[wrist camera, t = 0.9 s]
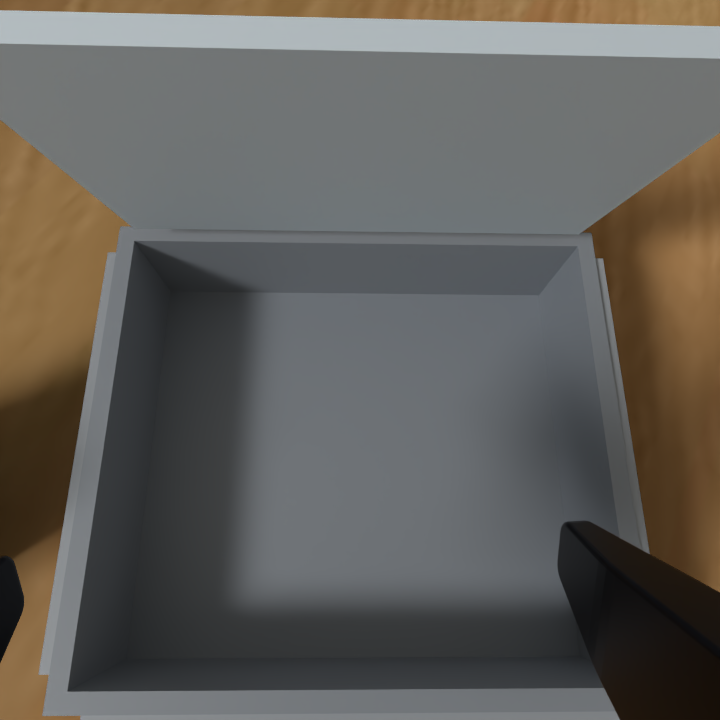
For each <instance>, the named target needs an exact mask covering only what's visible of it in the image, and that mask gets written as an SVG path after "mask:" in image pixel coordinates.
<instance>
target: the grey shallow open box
mask: <svg viewBox="0 0 720 720" xmlns="http://www.w3.org/2000/svg"><path fill="white" fill-rule="evenodd" d="M581 520H587V521H590V522H592V523H594V524H595V525H597V526H599V527H601V528H603V529H605V530H606V531H608V532H610V533H612V534H614V535H616V536H617V537H619V538H621V539H623V540H625V541H627V542H628V543H630V544H632V545H634V546H636V547H638V548H639V549H641V550H643V551H645V552H647V553H649V554H650V552H649V546H648V540H647V533H646V527H645V521H644V515H643V508H642V502H641V496H640V489H639V483H638V477H637V470H636V464H635V458H634V451H633V445H632V439H631V433H630V426H629V420H628V414H627V407H626V401H625V395H624V388H623V382H622V376H621V369H620V363H619V357H618V351H617V344H616V338H615V332H614V325H613V319H612V313H611V306H610V300H609V294H608V287H607V281H606V275H605V269H604V262H603V259H602V258H595V253H594V247H593V240H592V234H591V233H580V234H505V233H428V232H352V231H275V230H199V229H134V228H133V227H120V232H119V238H118V244H117V251H116V253H108V256H107V262H106V268H105V274H104V280H103V286H102V292H101V298H100V304H99V310H98V316H97V322H96V329H95V335H94V341H93V347H92V353H91V359H90V365H89V371H88V377H87V383H86V389H85V395H84V401H83V408H82V414H81V420H80V426H79V432H78V438H77V444H76V450H75V456H74V462H73V468H72V474H71V480H70V486H69V493H68V499H67V505H66V511H65V517H64V523H63V529H62V535H61V541H60V547H59V553H58V559H57V565H56V571H55V578H54V584H53V590H52V596H51V602H50V608H49V614H48V620H47V626H46V632H45V638H44V644H43V650H42V656H41V663H40V669H39V675H49V678H48V684H47V690H46V696H45V703H44V709H43V715H42V716H81V718H80V720H620V719H619V717H618V715H617V713H616V711H615V709H614V707H613V705H612V703H611V701H610V699H609V697H608V695H607V693H606V691H605V689H604V687H603V685H602V683H601V681H600V679H599V677H598V675H597V673H596V670H595V668H594V666H593V664H592V661H591V659H590V657H589V654H588V652H587V649H586V646H585V644H584V641H583V638H582V636H581V633H580V631H579V628H578V625H577V623H576V620H575V617H574V615H573V612H572V609H571V607H570V604H569V601H568V599H567V596H566V594H565V591H564V588H563V586H562V583H561V580H560V577H559V574H558V568H557V559H558V549H559V539H560V530H561V526H562V524H563V523H565V522H567V521H581Z"/></svg>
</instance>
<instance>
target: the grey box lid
mask: <svg viewBox="0 0 720 720" xmlns="http://www.w3.org/2000/svg"><path fill="white" fill-rule="evenodd" d="M0 120H1V121H3V122H4V123H5V124H6V125H8V126H9V127H10V128H11V129H12V130H14V131H15V132H16V133H17V134H19V135H20V136H21V137H22V138H24V139H25V140H26V141H27V142H28V143H30V144H31V145H32V146H33V147H35V148H36V149H37V150H38V151H40V152H41V153H42V154H43V155H44V156H46V157H47V158H48V159H49V160H51V161H52V162H53V163H54V164H56V165H57V166H58V167H59V168H60V169H62V170H63V171H64V172H65V173H67V174H68V175H69V176H70V177H72V178H73V179H74V180H75V181H76V182H78V183H79V184H80V185H81V186H83V187H84V188H85V189H86V190H88V191H89V192H90V193H91V194H92V195H94V196H95V197H96V198H97V199H99V200H100V201H101V202H102V203H103V204H105V205H106V206H107V207H108V208H110V209H111V210H112V211H113V212H115V213H116V214H117V215H118V216H119V217H121V218H122V219H123V220H124V221H126V222H127V223H128V224H129V225H131V226H132V227H133V228H134V229H199V230H275V231H352V232H428V233H505V234H580V233H581V232H583V231H584V230H586V229H587V228H588V227H590V226H591V225H593V224H594V223H595V222H597V221H598V220H599V219H601V218H602V217H604V216H605V215H606V214H608V213H609V212H611V211H612V210H613V209H615V208H616V207H617V206H619V205H620V204H622V203H623V202H624V201H626V200H627V199H629V198H630V197H631V196H633V195H634V194H635V193H637V192H638V191H640V190H641V189H642V188H644V187H645V186H647V185H648V184H649V183H651V182H652V181H653V180H655V179H656V178H658V177H659V176H660V175H662V174H663V173H665V172H666V171H667V170H669V169H670V168H671V167H673V166H674V165H676V164H677V163H678V162H680V161H681V160H683V159H684V158H685V157H687V156H688V155H690V154H691V153H692V152H694V151H695V150H696V149H698V148H699V147H701V146H702V145H703V144H705V143H706V142H708V141H709V140H710V139H712V138H713V137H714V136H716V135H717V134H719V133H720V27H719V26H674V25H629V24H584V23H540V22H495V21H450V20H405V19H361V18H316V17H271V16H226V15H181V14H137V13H92V12H47V11H2V10H0Z"/></svg>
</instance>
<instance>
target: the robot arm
mask: <svg viewBox="0 0 720 720" xmlns="http://www.w3.org/2000/svg"><path fill="white" fill-rule="evenodd" d="M557 568H558V574H559V577H560V580H561V583H562V586H563V588H564V591H565V594H566V596H567V599H568V601H569V604H570V607H571V609H572V612H573V615H574V617H575V620H576V623H577V625H578V628H579V631H580V633H581V636H582V638H583V641H584V644H585V646H586V649H587V652H588V654H589V657H590V659H591V661H592V664H593V666H594V668H595V670H596V673H597V675H598V677H599V679H600V681H601V683H602V685H603V687H604V689H605V691H606V693H607V695H608V697H609V699H610V701H611V703H612V705H613V707H614V709H615V711H616V713H617V715H618V717H619V719H620V720H720V592H718V591H716V590H714V589H712V588H711V587H709V586H707V585H705V584H703V583H702V582H700V581H698V580H696V579H694V578H692V577H691V576H689V575H687V574H685V573H683V572H681V571H680V570H678V569H676V568H674V567H672V566H670V565H669V564H667V563H665V562H663V561H661V560H659V559H658V558H656V557H654V556H652V555H650V554H649V553H647V552H645V551H643V550H641V549H639V548H638V547H636V546H634V545H632V544H630V543H628V542H627V541H625V540H623V539H621V538H619V537H617V536H616V535H614V534H612V533H610V532H608V531H606V530H605V529H603V528H601V527H599V526H597V525H595V524H594V523H592V522H590V521H587V520H581V521H567V522H565V523H563V524H562V526H561V530H560V539H559V549H558V559H557ZM23 607H24V595H23V592H22V588H21V584H20V581H19V577H18V574H17V570H16V567H15V564H14V561H13V560H12V559H11V558H10V557H8V556H0V662H1V660H2V658H3V655H4V653H5V651H6V649H7V646H8V644H9V642H10V639H11V637H12V635H13V632H14V630H15V628H16V626H17V623H18V621H19V619H20V616H21V614H22V611H23Z"/></svg>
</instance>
